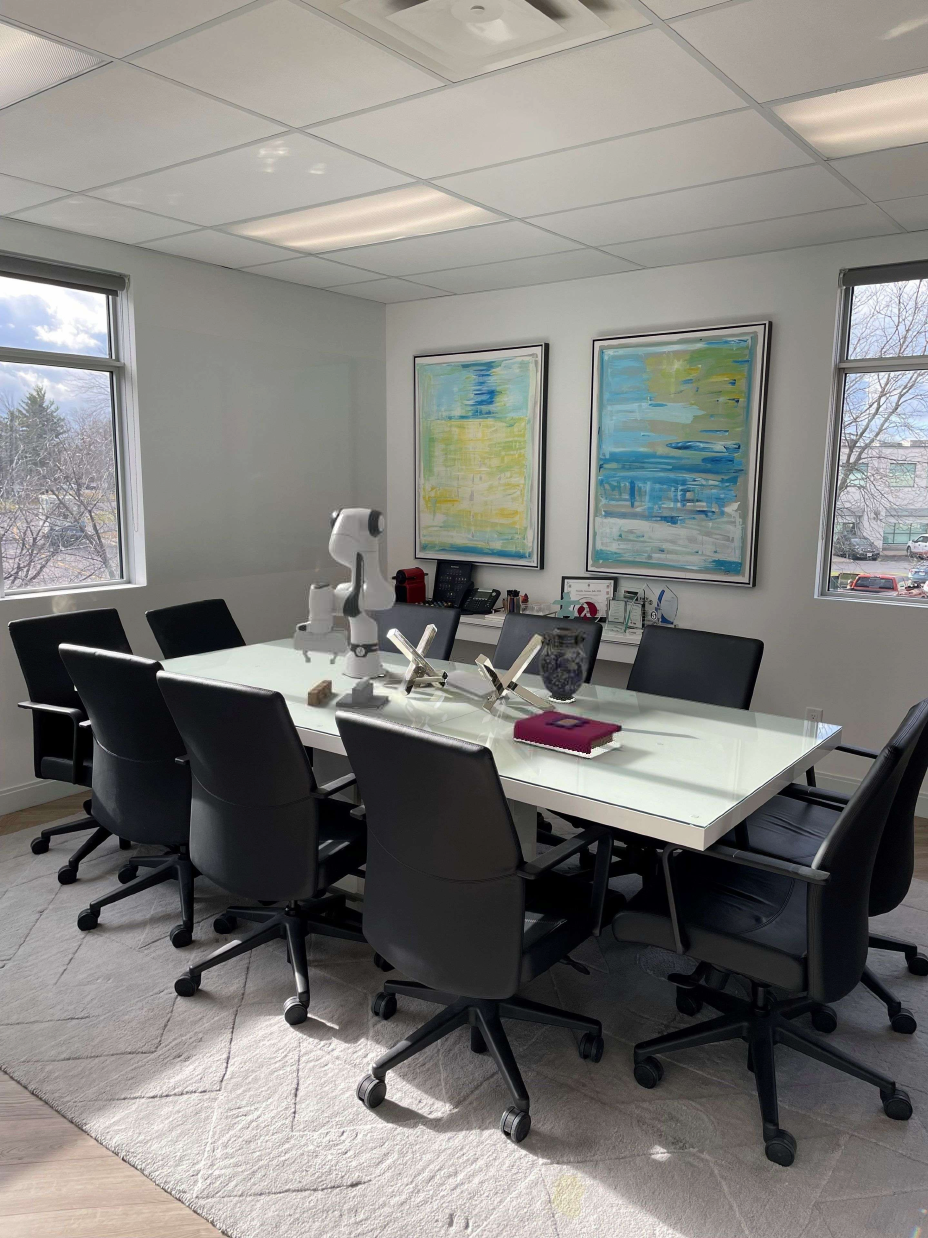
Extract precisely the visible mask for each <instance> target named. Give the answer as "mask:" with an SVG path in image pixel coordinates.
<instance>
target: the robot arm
mask: <svg viewBox="0 0 928 1238" xmlns="http://www.w3.org/2000/svg"><path fill="white" fill-rule="evenodd" d="M385 524H386V523H385V516H384V514H383V513H382V511H380V510H377V509H369V508H361V507H357V508H354V507H353V508H338V509H335V510H333V512H332V513H331V515H330V528H331V531H332V532H331V534H330V538H329V544H328V551H329V553H330V556H331V557H332V558H333V560H335V561H336V562H337V563H340V564H341V565H344V566H345V567H348V568H349V569H351V581H350V582H343V583H340V584H338V585H337V587H336V588H335V589H334V588H333V586H332V584H331V583H330V582H327V581H319V582H314V583H312V584H311V586H310V589H309V595H308V609H309V615H308V621H305V622H302V623H298V624H297V625H296V626H295V631H296V632H295V633H294V635H293V638H292V639H293V641H292V647H293V649H294V651H301V652H302V655H303V657H304V658H305V659H304V660H305V663H307V664H308V663H309V664H310V663H311V662H312V661H311V657H310V656H309V655H308V653H309V652H321V653H322V652H324V653H332V655H333V657H332V658H330V659H329V664H330V665H335V664H336V659H337V658H338V656H339V654H344V653H346V652H347V651H348V649H349V652H348V653H347V654H346V656H345V669H344V670H342V671H341V674H342V675H345V676H347V677H351V678H356V679H357V678H358V679H363V678H364V677H370V679H373V678H379V677H378V676H380V675H385V674H386V675H387V672H388V671H387V670H388V669H387V667H386V666H383V664H382V663H383V661H382V656H381V653H380V652H379V650H380V649H379V646H380V645H379V644H380V643H379V640H378V624H377V622H376V621H375V620H374V619H372V618H371V617H369V616H368V615H367V614H366V612H365V610H370V611H383V610H391V609H392V607H393V606H394V604H395V602H396V597H397V596H396V591H395V590H394V588H393V587H392V586H391V585H390V584H388V582H386V580H385V579H384V577H383V576H382V573H381V569H380V564H379V562H380V561H379V539H378V537H379V536H380V535H381V534H382V533H383V532H384V529H385ZM333 616H338V617H346V618H348V620H349V624H350V641H349V643H348V638H349V631H348V630H347V629H345V627H336V626H333V625H334V617H333ZM348 645H349V646H348ZM348 647H349V648H348Z"/></svg>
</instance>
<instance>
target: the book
mask: <svg viewBox="0 0 928 1238" xmlns="http://www.w3.org/2000/svg"><path fill="white" fill-rule="evenodd" d="M622 728H623V726H622V725H621V724H617V723H616V724H615V723H610V722H605V721H601V720H595V719H591V718H586V717H581V716H578V715H573V714H568V713H565V712H564V713H563V712H560V711H555V710H546V711H543V712H541V713H537V714H535V715H532V716H528V717H525V718H523V719H518V720H516V722H515V723H514V725H513V733H512V735H513V739H514V738H516V739H521V740H525V741H530V742H535V743H539V744H544V745H549V746H553V747H559V748H563V749H568V750H572V751H577V752H582V753H586V754H590V753H591V749H594V748H596V747H600V746H603V745H605V744H607V743H610V742H612V741H614V739H613V738H614V736H613V735H614V734H616V733H620V732H622V730H623V729H622Z"/></svg>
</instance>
